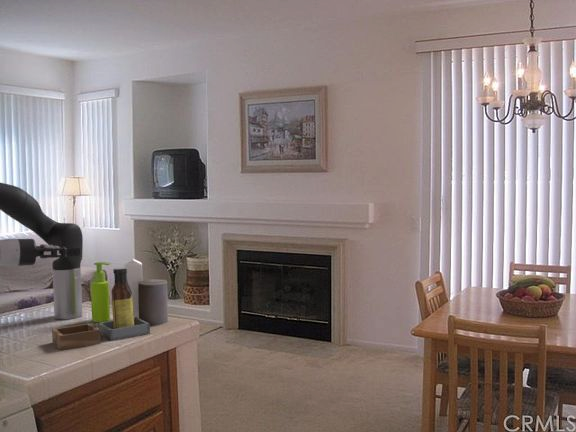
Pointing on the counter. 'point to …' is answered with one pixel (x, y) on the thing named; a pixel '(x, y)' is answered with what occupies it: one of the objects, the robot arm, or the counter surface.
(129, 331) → the tray
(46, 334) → the counter surface
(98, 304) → the soap dispenser
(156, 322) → the pillar candle
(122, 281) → the sauce bottle
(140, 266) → the milk
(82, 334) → the collar
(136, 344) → the counter surface
